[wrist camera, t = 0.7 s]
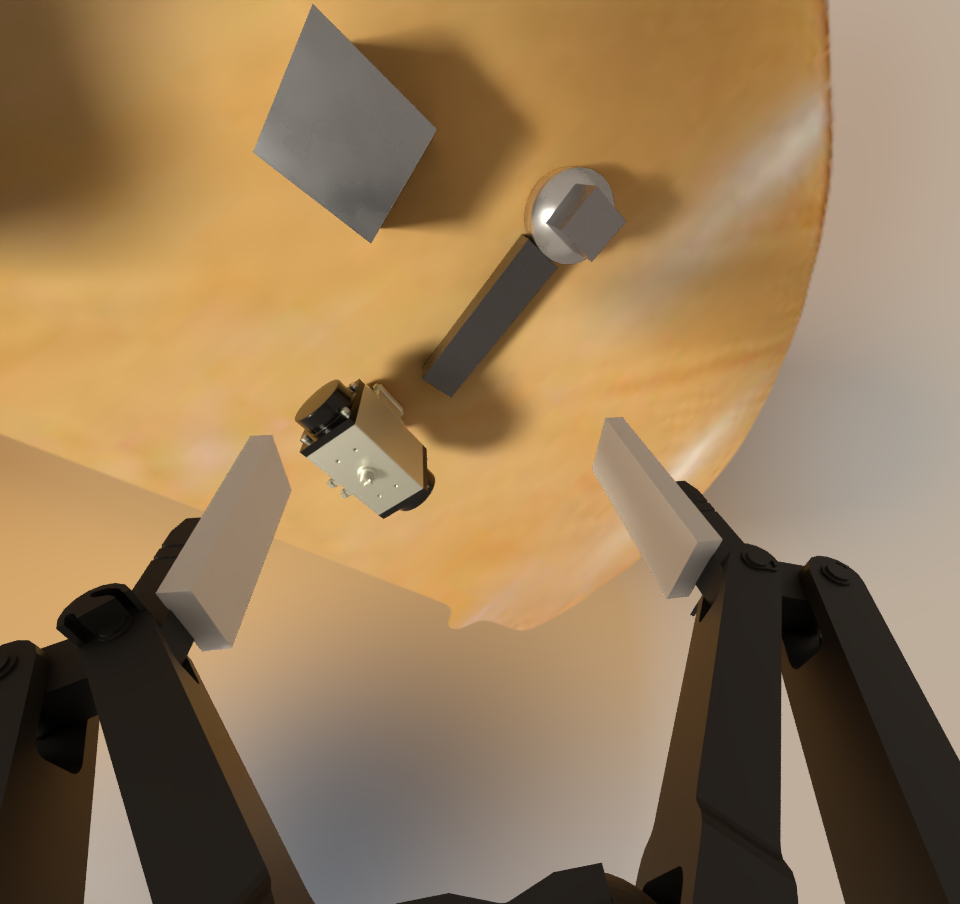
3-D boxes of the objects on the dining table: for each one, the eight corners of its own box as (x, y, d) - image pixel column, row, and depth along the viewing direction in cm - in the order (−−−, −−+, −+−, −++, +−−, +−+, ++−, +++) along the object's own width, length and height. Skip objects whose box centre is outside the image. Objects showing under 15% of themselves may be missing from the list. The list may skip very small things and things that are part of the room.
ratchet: (409, 359, 36) (407, 395, 30) (563, 146, 28) (599, 141, 22) (460, 392, 39) (468, 431, 33) (614, 207, 31) (658, 216, 25)
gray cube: (288, 155, 26) (253, 152, 21) (337, 42, 23) (312, 4, 18) (379, 228, 29) (371, 243, 24) (433, 137, 27) (437, 129, 21)
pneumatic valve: (354, 343, 34) (330, 411, 25) (434, 431, 41) (439, 512, 31) (308, 377, 36) (268, 454, 26) (393, 457, 42) (385, 542, 33)
